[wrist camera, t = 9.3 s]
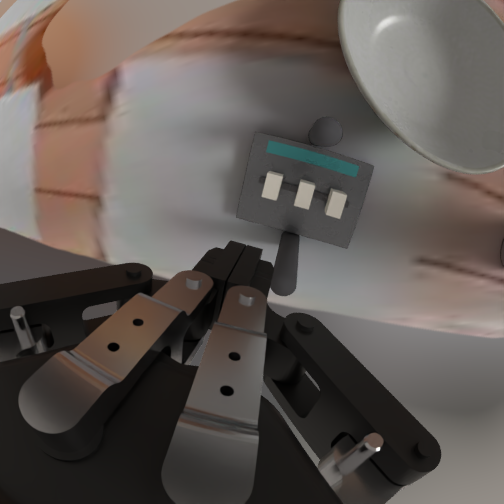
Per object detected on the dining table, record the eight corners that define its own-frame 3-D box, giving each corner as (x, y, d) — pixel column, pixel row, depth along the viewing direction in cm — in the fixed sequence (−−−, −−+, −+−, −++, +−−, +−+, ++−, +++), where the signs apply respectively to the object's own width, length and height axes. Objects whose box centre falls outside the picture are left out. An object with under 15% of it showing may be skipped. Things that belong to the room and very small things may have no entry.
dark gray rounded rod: (329, 130, 33) (345, 122, 20) (325, 148, 34) (338, 150, 21) (310, 124, 33) (316, 113, 21) (306, 142, 34) (309, 141, 22)
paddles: (344, 192, 33) (347, 195, 31) (337, 213, 34) (339, 219, 32) (269, 170, 34) (267, 172, 32) (264, 193, 35) (261, 196, 33)
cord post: (301, 232, 39) (299, 277, 27) (296, 248, 40) (291, 298, 28) (283, 227, 39) (273, 269, 27) (279, 243, 41) (267, 292, 28)
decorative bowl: (340, 163, 35) (358, 171, 24) (313, -5, 25) (313, -50, 14) (492, 168, 29) (539, 182, 18) (466, 18, 20) (502, -4, 9)
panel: (370, 164, 34) (375, 166, 31) (345, 243, 39) (348, 250, 36) (257, 132, 35) (254, 131, 32) (239, 214, 40) (234, 219, 37)
